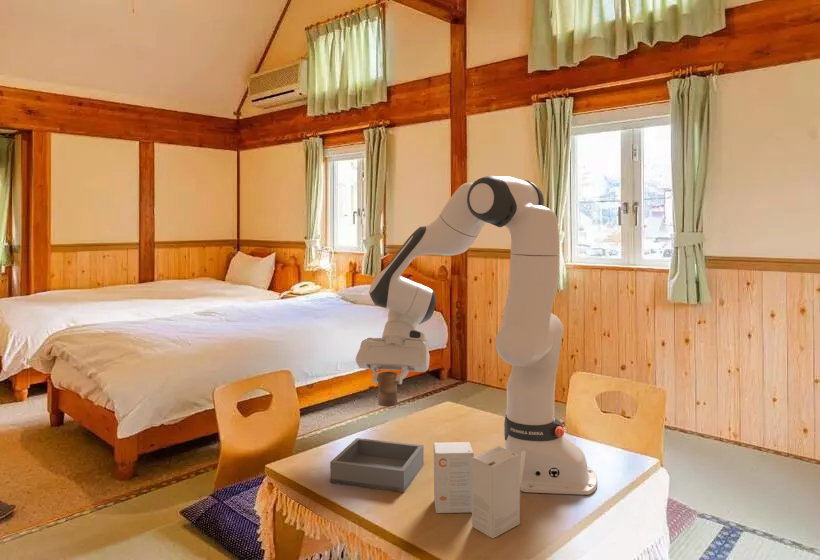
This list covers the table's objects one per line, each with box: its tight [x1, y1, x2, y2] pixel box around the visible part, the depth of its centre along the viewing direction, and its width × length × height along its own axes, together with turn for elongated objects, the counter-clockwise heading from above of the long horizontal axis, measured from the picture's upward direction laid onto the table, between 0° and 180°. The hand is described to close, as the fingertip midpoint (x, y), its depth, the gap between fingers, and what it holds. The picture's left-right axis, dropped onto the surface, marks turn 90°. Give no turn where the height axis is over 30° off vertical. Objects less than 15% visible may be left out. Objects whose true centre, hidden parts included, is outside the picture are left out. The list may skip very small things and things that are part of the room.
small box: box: [433, 441, 475, 514], centre depth 122 cm, size 8×6×13 cm
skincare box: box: [471, 446, 521, 539], centre depth 114 cm, size 8×6×15 cm
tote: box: [329, 437, 425, 494], centre depth 139 cm, size 18×16×5 cm
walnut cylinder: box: [377, 371, 398, 407], centre depth 153 cm, size 5×5×8 cm
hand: (386, 382), depth 152 cm, fingers closed on walnut cylinder, 5 cm apart
